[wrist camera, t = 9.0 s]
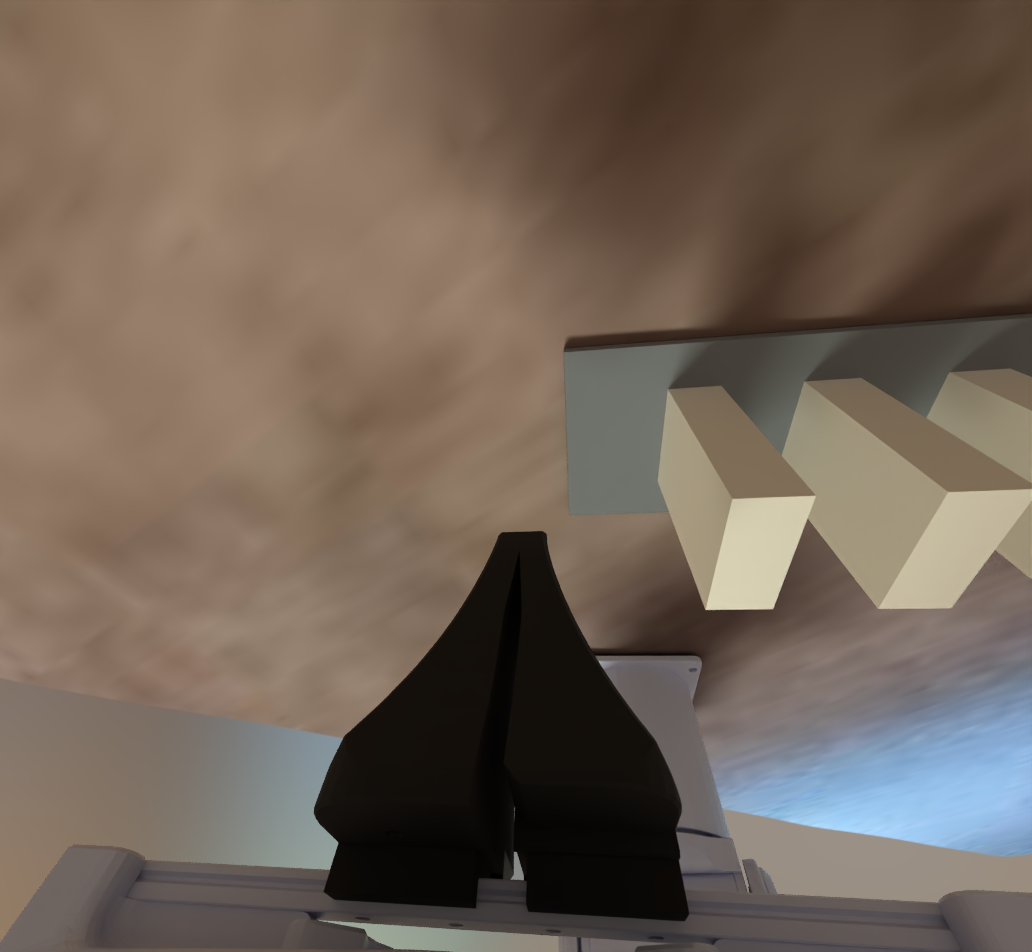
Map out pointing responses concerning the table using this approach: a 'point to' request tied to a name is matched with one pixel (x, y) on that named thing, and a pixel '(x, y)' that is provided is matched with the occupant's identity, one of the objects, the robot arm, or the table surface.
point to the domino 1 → (729, 499)
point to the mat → (752, 389)
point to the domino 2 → (899, 494)
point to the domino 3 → (994, 435)
